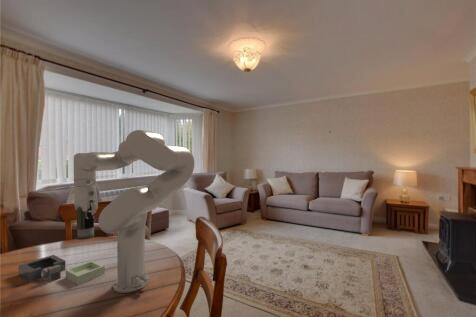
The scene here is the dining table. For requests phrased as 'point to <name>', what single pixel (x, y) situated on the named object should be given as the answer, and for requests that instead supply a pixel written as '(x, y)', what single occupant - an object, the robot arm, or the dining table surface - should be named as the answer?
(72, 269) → the tray
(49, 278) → the grey stepped block
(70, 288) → the dining table surface
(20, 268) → the socket
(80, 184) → the robot arm
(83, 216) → the grenade
